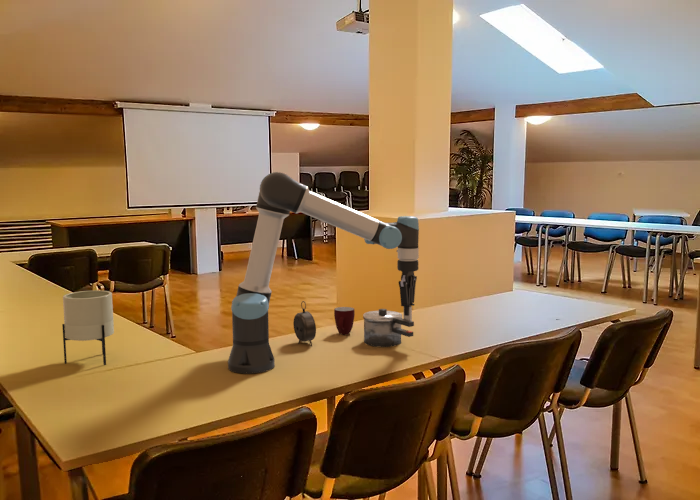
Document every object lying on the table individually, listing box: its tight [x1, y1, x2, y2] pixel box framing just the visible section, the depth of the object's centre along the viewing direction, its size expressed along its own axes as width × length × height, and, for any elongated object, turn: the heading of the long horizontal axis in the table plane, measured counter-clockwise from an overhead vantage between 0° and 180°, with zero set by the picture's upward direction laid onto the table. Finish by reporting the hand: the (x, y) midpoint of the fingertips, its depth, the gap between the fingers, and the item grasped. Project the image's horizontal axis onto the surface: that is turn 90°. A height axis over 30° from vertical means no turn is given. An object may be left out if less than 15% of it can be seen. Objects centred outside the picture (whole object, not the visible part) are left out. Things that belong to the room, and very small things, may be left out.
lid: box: [362, 308, 415, 328], centre depth 226 cm, size 15×24×3 cm, turn 36°
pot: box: [363, 318, 414, 348], centre depth 227 cm, size 14×23×9 cm, turn 36°
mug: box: [333, 306, 355, 336], centre depth 242 cm, size 11×8×10 cm
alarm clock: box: [293, 300, 317, 347], centre depth 228 cm, size 11×5×16 cm, turn 31°
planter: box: [62, 289, 115, 366], centre depth 207 cm, size 15×16×23 cm
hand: (407, 323), depth 222 cm, fingers closed
